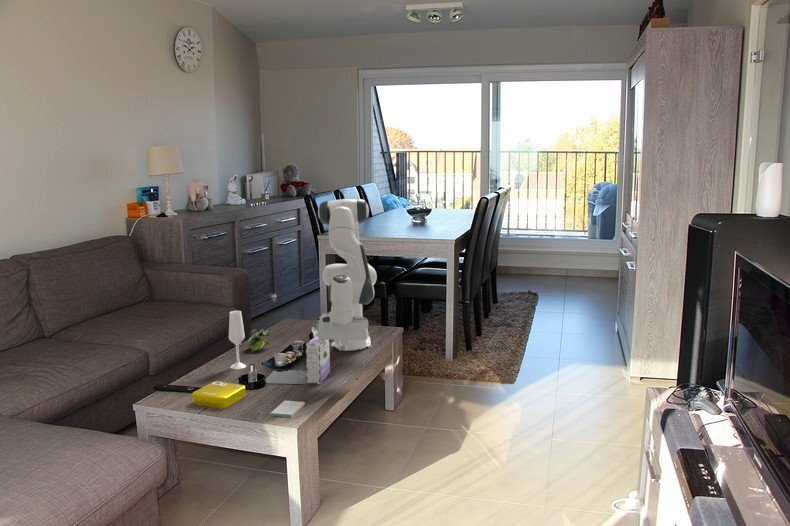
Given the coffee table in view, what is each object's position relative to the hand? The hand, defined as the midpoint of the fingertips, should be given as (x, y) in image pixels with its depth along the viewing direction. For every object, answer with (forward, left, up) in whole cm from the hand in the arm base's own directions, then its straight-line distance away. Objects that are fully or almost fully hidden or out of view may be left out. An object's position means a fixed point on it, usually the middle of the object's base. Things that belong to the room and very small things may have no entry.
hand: (343, 350), depth 279 cm
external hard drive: (+34, -14, -13) cm, 39 cm away
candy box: (0, -10, -12) cm, 16 cm away
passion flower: (-38, -47, -12) cm, 62 cm away
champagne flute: (-12, -48, -12) cm, 51 cm away
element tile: (+26, -42, -13) cm, 51 cm away
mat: (0, -23, -12) cm, 26 cm away
